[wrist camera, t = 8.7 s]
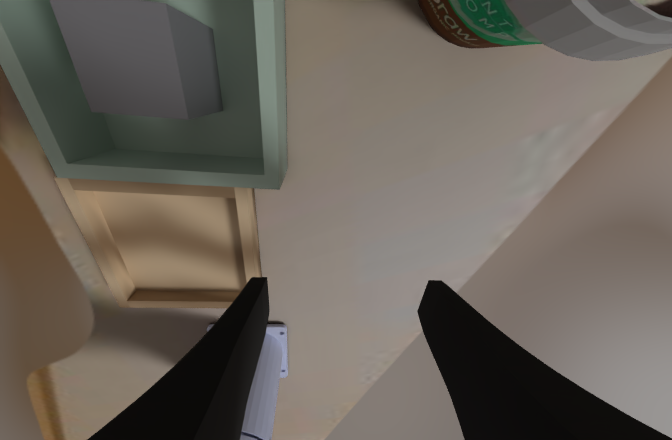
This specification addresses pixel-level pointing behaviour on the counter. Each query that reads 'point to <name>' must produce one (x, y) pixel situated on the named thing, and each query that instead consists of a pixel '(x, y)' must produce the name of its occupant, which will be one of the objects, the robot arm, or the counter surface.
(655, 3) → the food container
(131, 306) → the oak tray
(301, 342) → the counter surface
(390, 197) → the counter surface
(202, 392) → the robot arm
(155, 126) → the green bin
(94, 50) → the stone block
